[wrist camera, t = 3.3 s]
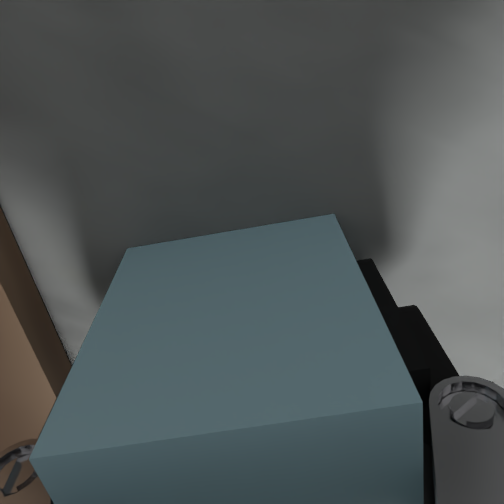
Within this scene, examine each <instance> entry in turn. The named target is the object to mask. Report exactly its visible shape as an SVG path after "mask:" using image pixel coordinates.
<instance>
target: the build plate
mask: <svg viewBox="0 0 504 504" xmlns="http://www.w3.org/2000/svg"><path fill="white" fill-rule="evenodd" d="M70 368H71V364H70V362H69V359H68V357H67V355H66V353H65V350H64V348H63V346H62V344H61V342H60V339H59V337H58V335H57V333H56V330H55V328H54V326H53V324H52V321H51V319H50V317H49V315H48V312H47V310H46V308H45V306H44V304H43V301H42V299H41V297H40V295H39V292H38V290H37V288H36V286H35V283H34V281H33V279H32V277H31V274H30V272H29V270H28V268H27V265H26V263H25V261H24V259H23V257H22V254H21V252H20V250H19V248H18V245H17V243H16V241H15V239H14V236H13V234H12V232H11V230H10V227H9V225H8V223H7V221H6V219H5V216H4V214H3V212H2V210H1V207H0V452H1V451H3V450H4V449H6V448H7V447H9V446H11V445H13V444H16V443H18V442H20V441H24V440H28V439H38V437H39V434H40V432H41V430H42V428H43V426H44V424H45V422H46V420H47V417H48V415H49V413H50V411H51V409H52V407H53V405H54V403H55V400H56V398H57V396H58V394H59V392H60V390H61V388H62V386H63V383H64V381H65V379H66V377H67V375H68V373H69V371H70Z"/></svg>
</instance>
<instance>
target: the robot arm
mask: <svg viewBox="0 0 504 504" xmlns="http://www.w3.org/2000/svg"><path fill="white" fill-rule="evenodd" d="M356 262H357V264H358V266H359V268H360V270H361V272H362V274H363V276H364V279H365V281H366V283H367V285H368V287H369V289H370V291H371V293H372V296H373V298H374V300H375V302H376V304H377V306H378V308H379V310H380V313H381V315H382V317H383V319H384V321H385V323H386V325H387V327H388V330H389V332H390V334H391V336H392V338H393V340H394V342H395V344H396V347H397V349H398V351H399V353H400V355H401V357H402V359H403V361H404V363H405V366H406V368H407V370H408V372H409V374H410V376H411V378H412V380H413V383H414V385H415V387H416V389H417V391H418V393H419V395H420V397H421V400H422V402H423V489H424V504H504V389H503V388H502V387H500V386H498V385H497V384H495V383H493V382H491V381H488V380H485V379H482V378H479V377H472V376H459V374H458V373H457V371H456V370H455V368H454V366H453V365H452V363H451V361H450V360H449V358H448V356H447V355H446V353H445V351H444V350H443V348H442V346H441V345H440V343H439V341H438V340H437V338H436V336H435V335H434V333H433V332H432V330H431V328H430V327H429V325H428V323H427V322H426V320H425V318H424V317H423V315H422V313H421V312H420V310H419V309H418V307H417V306H415V305H411V306H405V307H397V305H396V303H395V301H394V299H393V297H392V295H391V294H390V292H389V290H388V288H387V286H386V284H385V282H384V281H383V279H382V277H381V275H380V273H379V271H378V269H377V268H376V266H375V264H374V262H373V260H372V259H365V260H359V261H356ZM73 364H74V363H73ZM73 364H72V366H73ZM72 366H71V368H72ZM71 368H70V370H71ZM69 372H70V371H69ZM68 374H69V373H68ZM67 376H68V375H67ZM66 379H67V377H66ZM66 379H65V381H66ZM65 381H64V383H65ZM64 383H63V385H64ZM62 387H63V386H62ZM61 389H62V388H61ZM60 391H61V390H60ZM59 393H60V392H59ZM58 396H59V394H58ZM58 396H57V398H58ZM57 398H56V400H57ZM56 400H55V402H56ZM54 404H55V403H54ZM53 406H54V405H53ZM52 408H53V407H52ZM51 411H52V409H51ZM51 411H50V413H51ZM50 413H49V415H50ZM49 415H48V417H49ZM48 417H47V419H48ZM46 421H47V420H46ZM45 423H46V422H45ZM44 426H45V424H44ZM44 426H43V428H44ZM43 428H42V430H43ZM42 430H41V432H42ZM41 432H40V434H41ZM40 434H39V436H40ZM38 438H39V437H38ZM37 441H38V439H28V440H24V441H20V442H18V443H16V444H13V445H11V446H9V447H7V448H6V449H4V450H3V451H1V452H0V504H54V503H53V501H52V499H51V498H50V496H49V494H48V492H47V491H46V489H45V487H44V485H43V484H42V482H41V480H40V478H39V477H38V475H37V473H36V471H35V469H34V468H33V466H32V464H31V462H30V461H29V458H30V455H31V453H32V451H33V449H34V447H35V445H36V443H37Z"/></svg>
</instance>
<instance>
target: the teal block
mask: <svg viewBox="0 0 504 504" xmlns="http://www.w3.org/2000/svg"><path fill="white" fill-rule="evenodd" d="M29 461H30V462H31V464H32V466H33V468H34V469H35V471H36V473H37V475H38V477H39V478H40V480H41V482H42V484H43V485H44V487H45V489H46V491H47V492H48V494H49V496H50V498H51V499H52V501H53V503H54V504H424V489H423V402H422V400H421V397H420V395H419V393H418V391H417V389H416V387H415V385H414V383H413V380H412V378H411V376H410V374H409V372H408V370H407V368H406V366H405V363H404V361H403V359H402V357H401V355H400V353H399V351H398V349H397V347H396V344H395V342H394V340H393V338H392V336H391V334H390V332H389V330H388V327H387V325H386V323H385V321H384V319H383V317H382V315H381V313H380V310H379V308H378V306H377V304H376V302H375V300H374V298H373V296H372V293H371V291H370V289H369V287H368V285H367V283H366V281H365V279H364V276H363V274H362V272H361V270H360V268H359V266H358V264H357V262H356V259H355V257H354V255H353V253H352V251H351V249H350V247H349V245H348V242H347V240H346V238H345V236H344V234H343V232H342V230H341V228H340V225H339V223H338V221H337V219H336V217H335V215H334V214H329V215H323V216H317V217H311V218H305V219H299V220H293V221H287V222H281V223H275V224H270V225H264V226H258V227H252V228H246V229H240V230H234V231H228V232H222V233H216V234H210V235H204V236H198V237H192V238H186V239H180V240H174V241H169V242H163V243H157V244H151V245H145V246H139V247H133V248H127V250H126V252H125V254H124V257H123V259H122V261H121V263H120V265H119V267H118V269H117V272H116V274H115V276H114V278H113V280H112V282H111V284H110V287H109V289H108V291H107V293H106V295H105V297H104V299H103V302H102V304H101V306H100V308H99V310H98V312H97V314H96V316H95V319H94V321H93V323H92V325H91V327H90V329H89V331H88V334H87V336H86V338H85V340H84V342H83V344H82V346H81V349H80V351H79V353H78V355H77V357H76V359H75V361H74V364H73V366H72V368H71V370H70V372H69V374H68V376H67V379H66V381H65V383H64V385H63V387H62V389H61V391H60V393H59V396H58V398H57V400H56V402H55V404H54V406H53V408H52V411H51V413H50V415H49V417H48V419H47V421H46V423H45V426H44V428H43V430H42V432H41V434H40V436H39V438H38V441H37V443H36V445H35V447H34V449H33V451H32V453H31V455H30V458H29Z"/></svg>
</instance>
